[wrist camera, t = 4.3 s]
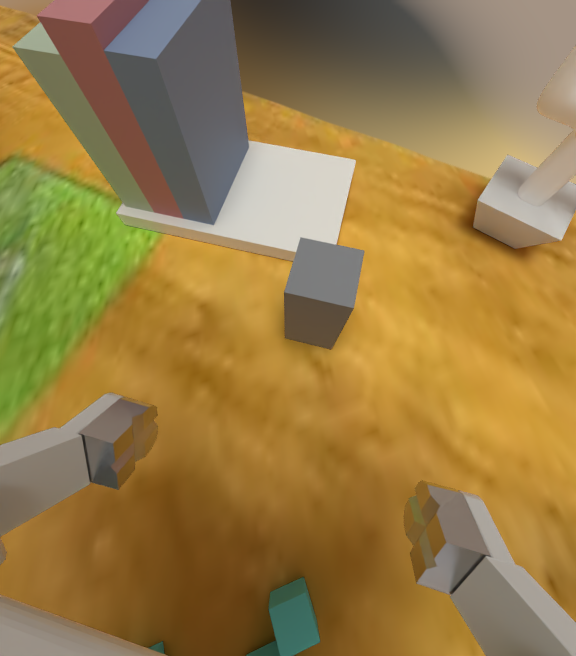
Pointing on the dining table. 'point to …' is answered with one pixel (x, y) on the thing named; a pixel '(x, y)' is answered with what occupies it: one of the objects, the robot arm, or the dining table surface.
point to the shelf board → (180, 125)
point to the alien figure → (286, 622)
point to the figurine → (536, 178)
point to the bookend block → (321, 291)
